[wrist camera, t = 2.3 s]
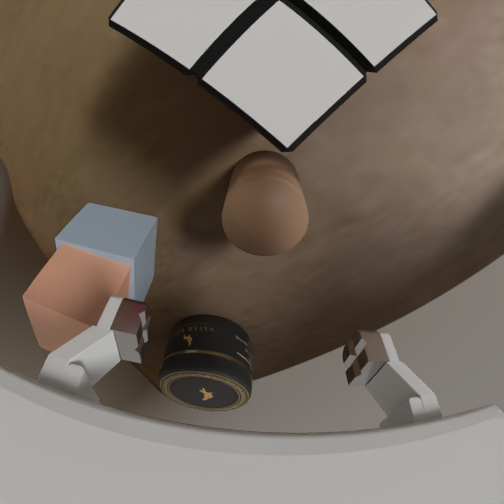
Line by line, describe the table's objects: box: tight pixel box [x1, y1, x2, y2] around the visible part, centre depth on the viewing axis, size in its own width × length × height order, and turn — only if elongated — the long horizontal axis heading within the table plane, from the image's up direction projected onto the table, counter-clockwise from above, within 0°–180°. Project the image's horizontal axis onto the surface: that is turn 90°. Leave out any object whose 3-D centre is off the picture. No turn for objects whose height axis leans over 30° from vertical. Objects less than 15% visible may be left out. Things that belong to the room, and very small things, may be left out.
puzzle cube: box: [108, 0, 438, 152], centre depth 11 cm, size 10×10×10 cm
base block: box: [55, 203, 158, 302], centre depth 24 cm, size 7×7×6 cm
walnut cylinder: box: [222, 151, 309, 256], centre depth 20 cm, size 5×5×6 cm
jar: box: [158, 315, 253, 411], centre depth 31 cm, size 10×10×8 cm
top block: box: [22, 243, 131, 352], centre depth 19 cm, size 6×6×6 cm
